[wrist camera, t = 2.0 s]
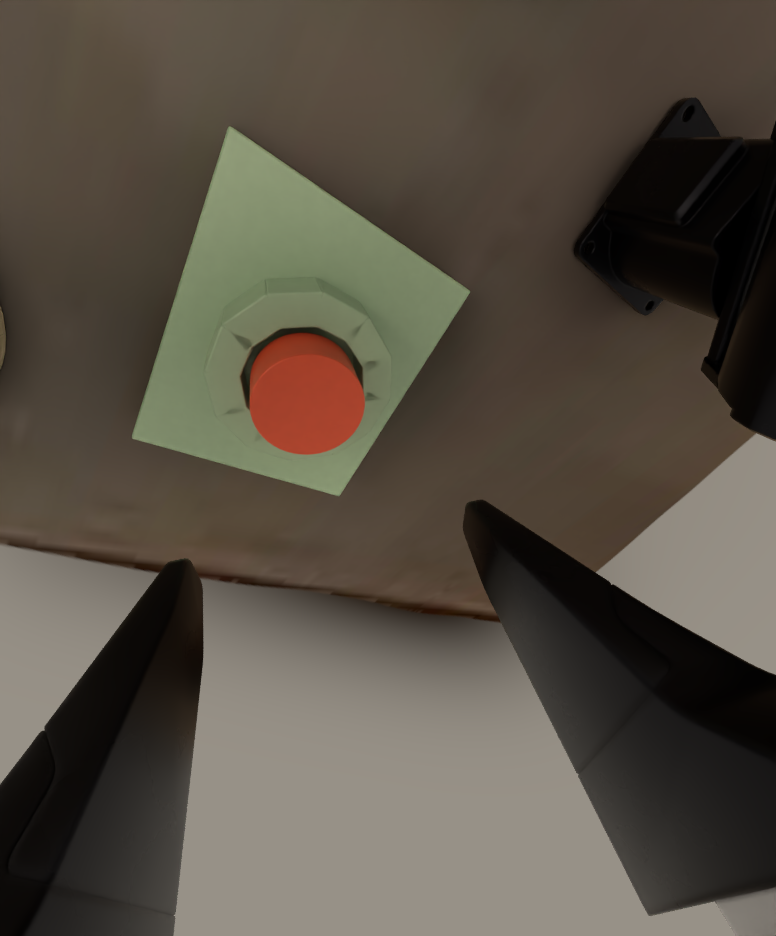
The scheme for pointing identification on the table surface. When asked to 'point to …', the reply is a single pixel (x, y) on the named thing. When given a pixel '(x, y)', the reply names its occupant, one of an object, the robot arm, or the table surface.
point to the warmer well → (2, 338)
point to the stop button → (305, 394)
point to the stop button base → (287, 316)
